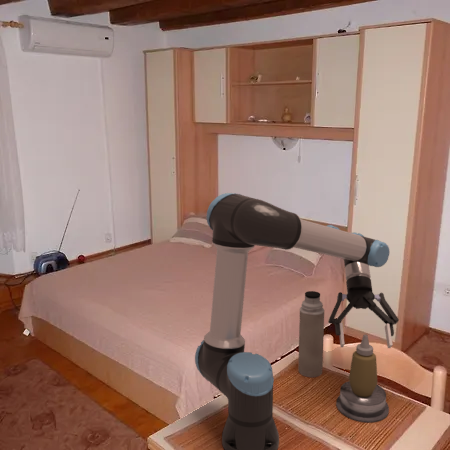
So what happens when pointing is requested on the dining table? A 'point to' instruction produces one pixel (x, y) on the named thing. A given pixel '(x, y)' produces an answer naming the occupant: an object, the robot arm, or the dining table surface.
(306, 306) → the thermos bottle
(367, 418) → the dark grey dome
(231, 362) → the robot arm
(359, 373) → the squeeze bottle
